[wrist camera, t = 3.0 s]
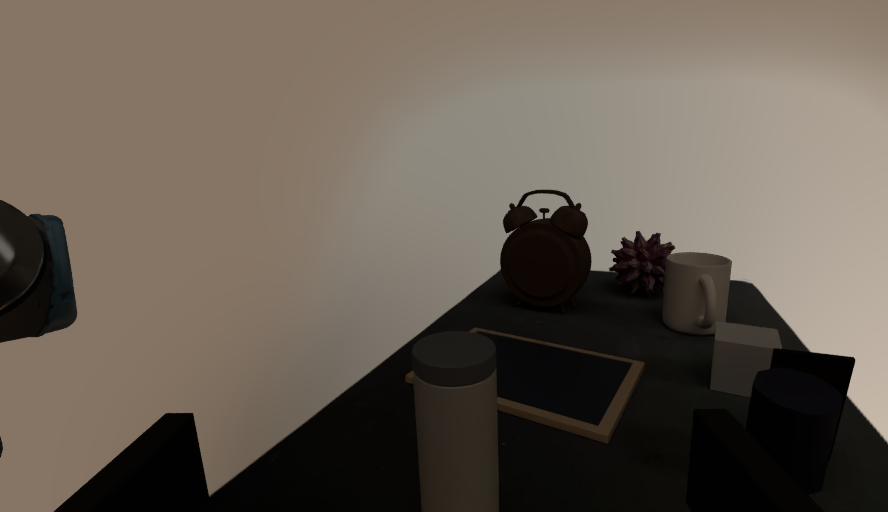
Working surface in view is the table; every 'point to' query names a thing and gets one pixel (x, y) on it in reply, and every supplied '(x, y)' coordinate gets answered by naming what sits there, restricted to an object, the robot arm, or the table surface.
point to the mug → (695, 292)
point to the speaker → (800, 411)
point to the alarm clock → (545, 253)
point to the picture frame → (561, 384)
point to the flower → (642, 263)
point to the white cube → (740, 356)
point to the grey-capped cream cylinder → (456, 422)
